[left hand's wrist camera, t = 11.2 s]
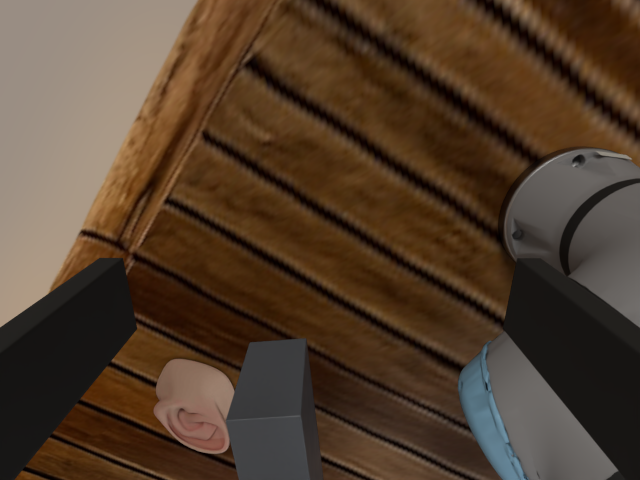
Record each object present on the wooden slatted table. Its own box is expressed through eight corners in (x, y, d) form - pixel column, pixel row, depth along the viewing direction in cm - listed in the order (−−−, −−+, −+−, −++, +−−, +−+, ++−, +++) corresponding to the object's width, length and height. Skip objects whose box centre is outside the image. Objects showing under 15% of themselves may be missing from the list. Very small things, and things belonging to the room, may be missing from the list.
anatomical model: (138, 377, 46) (231, 381, 46) (152, 356, 49) (237, 360, 49) (150, 456, 50) (234, 459, 50) (161, 431, 54) (240, 434, 54)
